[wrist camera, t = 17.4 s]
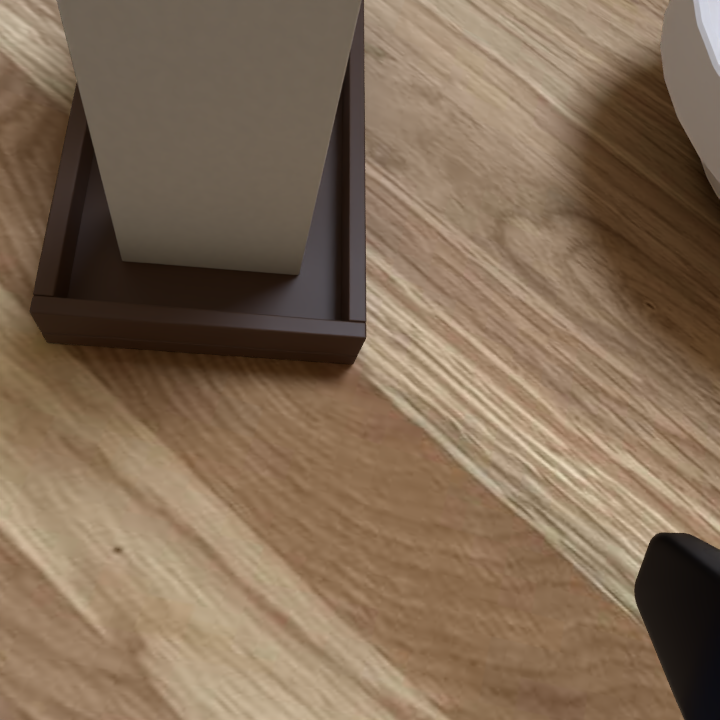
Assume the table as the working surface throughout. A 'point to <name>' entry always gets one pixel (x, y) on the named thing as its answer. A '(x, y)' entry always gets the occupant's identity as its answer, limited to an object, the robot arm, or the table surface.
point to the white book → (211, 122)
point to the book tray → (209, 285)
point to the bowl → (695, 76)
